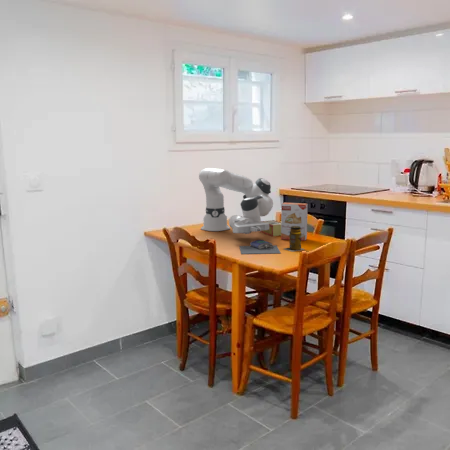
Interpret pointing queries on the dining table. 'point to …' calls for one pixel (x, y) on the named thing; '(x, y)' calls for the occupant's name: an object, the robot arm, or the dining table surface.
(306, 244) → the dining table surface
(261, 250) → the slate mat
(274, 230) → the baking soda box
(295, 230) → the condiment
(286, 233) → the cracker box
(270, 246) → the flask
